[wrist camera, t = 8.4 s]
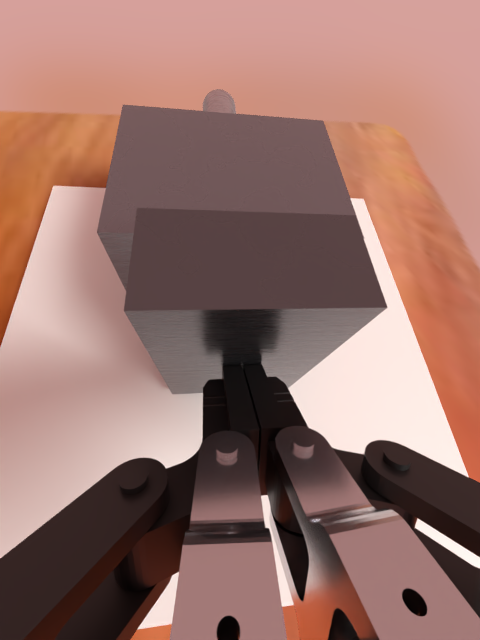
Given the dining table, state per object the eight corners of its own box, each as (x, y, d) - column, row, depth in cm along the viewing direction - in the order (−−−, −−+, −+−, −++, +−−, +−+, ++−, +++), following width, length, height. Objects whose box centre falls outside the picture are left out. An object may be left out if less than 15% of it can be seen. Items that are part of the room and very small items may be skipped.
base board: (-66, 640, 11) (-105, 667, 9) (63, 202, 21) (53, 185, 20) (475, 560, 14) (504, 571, 12) (354, 213, 24) (363, 199, 23)
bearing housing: (140, 320, 16) (96, 232, 10) (150, 219, 19) (122, 104, 13) (306, 318, 17) (364, 238, 11) (287, 223, 21) (323, 120, 14)
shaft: (172, 394, 14) (123, 310, 6) (181, 147, 22) (166, -25, 14) (287, 388, 15) (387, 307, 6) (253, 151, 23) (277, -9, 15)
